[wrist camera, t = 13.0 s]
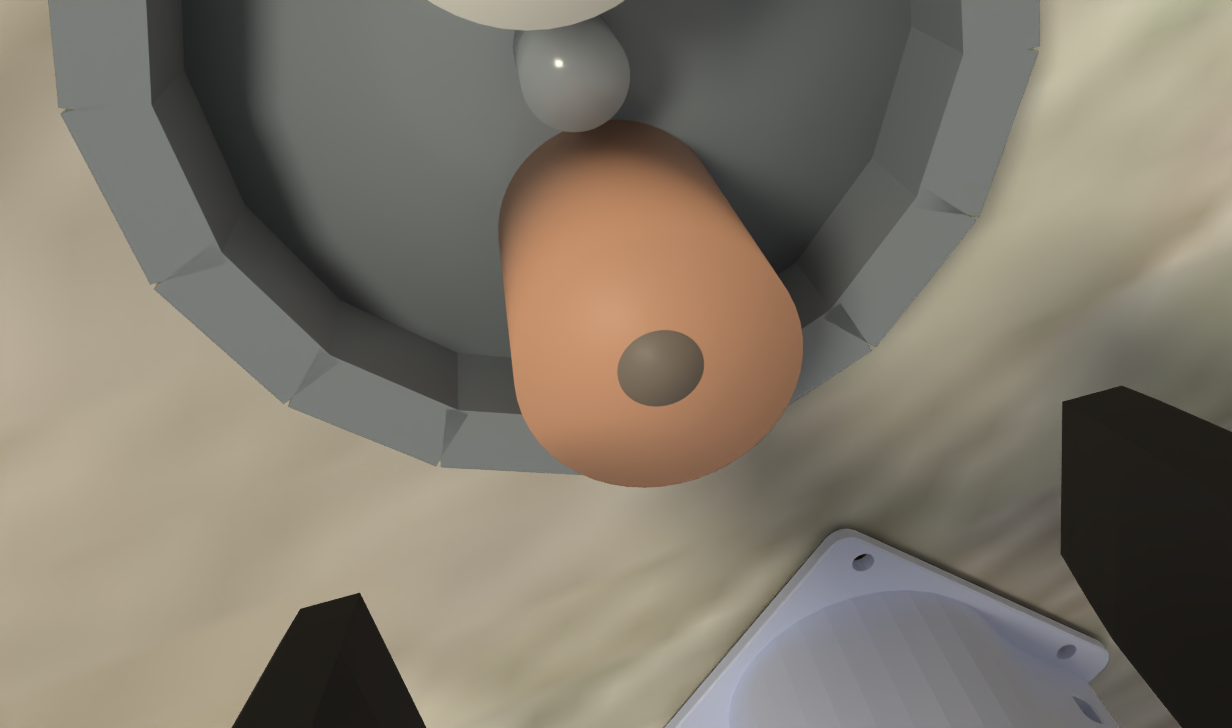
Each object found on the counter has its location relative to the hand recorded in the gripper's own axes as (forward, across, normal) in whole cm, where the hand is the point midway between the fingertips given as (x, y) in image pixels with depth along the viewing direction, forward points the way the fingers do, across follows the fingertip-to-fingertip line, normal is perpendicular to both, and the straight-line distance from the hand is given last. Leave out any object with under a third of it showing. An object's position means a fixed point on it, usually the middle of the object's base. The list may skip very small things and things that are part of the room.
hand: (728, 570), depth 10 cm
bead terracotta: (+9, 0, 0) cm, 9 cm away
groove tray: (+10, 0, -3) cm, 10 cm away
